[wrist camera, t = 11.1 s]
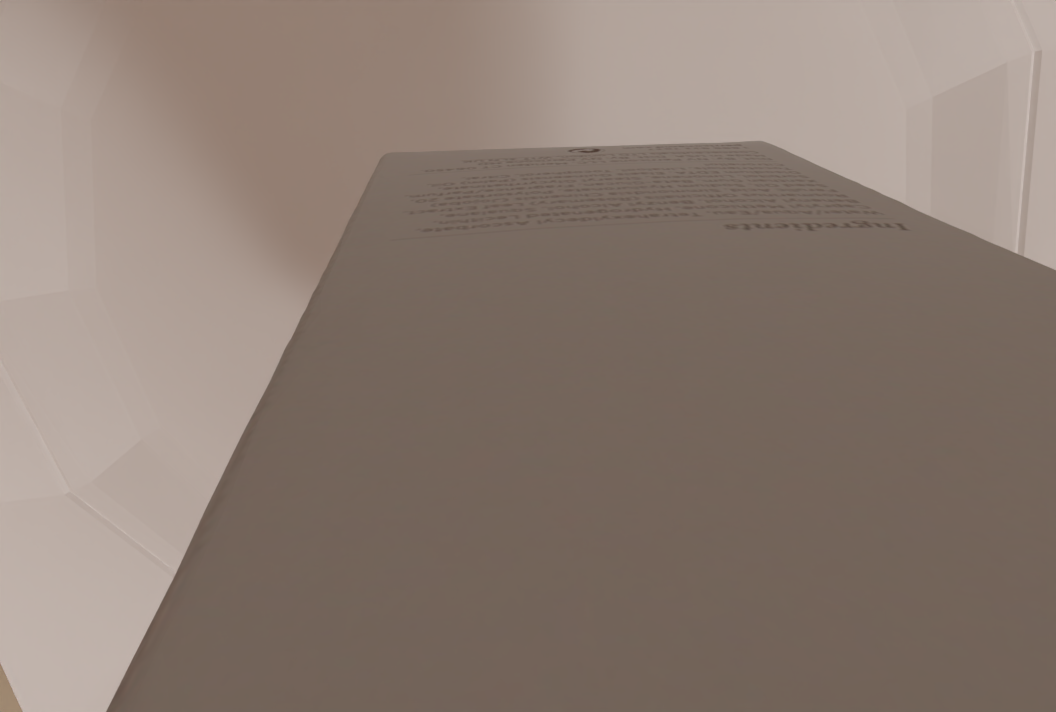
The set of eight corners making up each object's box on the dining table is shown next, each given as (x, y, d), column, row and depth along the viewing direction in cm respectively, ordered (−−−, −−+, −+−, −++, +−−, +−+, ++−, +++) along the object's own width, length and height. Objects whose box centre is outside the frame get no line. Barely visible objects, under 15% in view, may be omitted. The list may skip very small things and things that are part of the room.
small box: (379, 144, 11) (-345, 1242, 1) (768, 133, 11) (2766, 896, 1) (420, 593, 14) (327, 1860, 4) (720, 573, 14) (1241, 1700, 5)
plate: (936, 655, 22) (995, 734, 20) (65, 713, 21) (12, 807, 18) (1263, -487, 12) (1461, -610, 10) (-380, -561, 11) (-632, -732, 8)
